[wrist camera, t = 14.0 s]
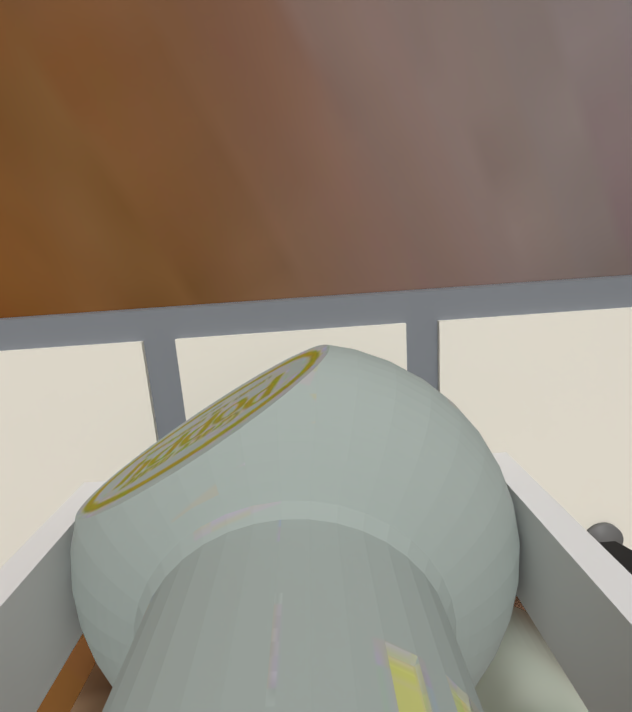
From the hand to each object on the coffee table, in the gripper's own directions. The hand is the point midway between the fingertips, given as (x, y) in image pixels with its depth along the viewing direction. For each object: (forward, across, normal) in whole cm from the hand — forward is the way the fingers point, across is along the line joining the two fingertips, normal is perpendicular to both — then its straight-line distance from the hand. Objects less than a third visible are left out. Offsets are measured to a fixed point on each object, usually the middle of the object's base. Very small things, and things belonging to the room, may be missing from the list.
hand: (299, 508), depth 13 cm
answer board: (+3, 0, 0) cm, 3 cm away
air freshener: (+1, 0, 0) cm, 1 cm away
